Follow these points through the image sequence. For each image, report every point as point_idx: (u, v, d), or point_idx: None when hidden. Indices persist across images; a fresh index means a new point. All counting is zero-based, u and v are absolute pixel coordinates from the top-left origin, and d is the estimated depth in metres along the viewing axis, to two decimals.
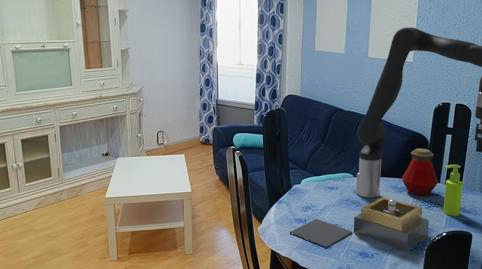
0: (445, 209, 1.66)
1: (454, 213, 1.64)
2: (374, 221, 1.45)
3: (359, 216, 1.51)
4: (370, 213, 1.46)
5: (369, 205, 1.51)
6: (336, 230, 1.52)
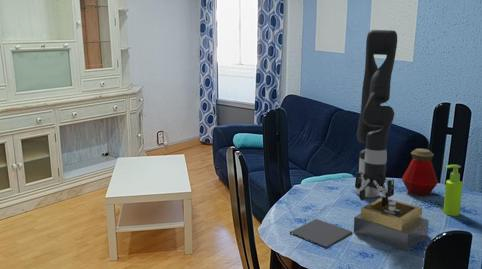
0: (445, 209, 1.66)
1: (454, 213, 1.64)
2: (374, 221, 1.45)
3: (359, 216, 1.51)
4: (370, 213, 1.46)
5: (369, 205, 1.51)
6: (336, 230, 1.52)
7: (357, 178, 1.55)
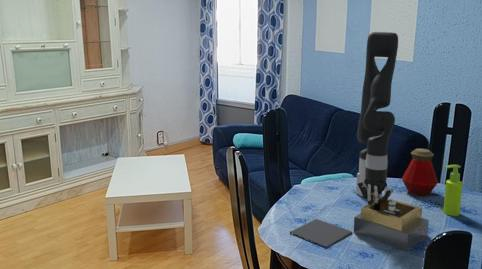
0: (445, 209, 1.66)
1: (454, 213, 1.64)
2: (374, 221, 1.45)
3: (359, 216, 1.51)
4: (370, 213, 1.46)
5: (369, 205, 1.51)
6: (336, 230, 1.52)
7: (361, 188, 1.55)
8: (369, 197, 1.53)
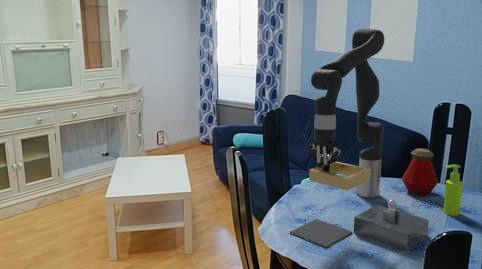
0: (445, 209, 1.66)
1: (454, 213, 1.64)
2: (321, 182, 1.43)
3: (359, 216, 1.51)
4: (318, 174, 1.43)
5: (318, 167, 1.48)
6: (336, 230, 1.52)
7: (310, 150, 1.52)
8: (318, 159, 1.50)
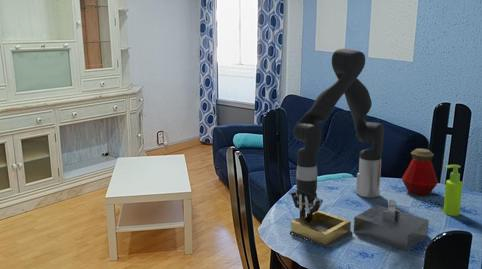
0: (445, 209, 1.66)
1: (454, 213, 1.64)
2: (302, 234, 1.48)
3: (359, 216, 1.51)
4: (299, 226, 1.49)
5: (300, 218, 1.54)
6: None
7: (293, 197, 1.57)
8: (300, 207, 1.55)
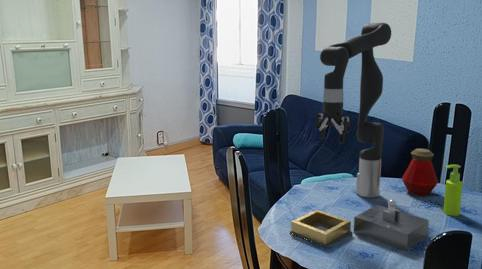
0: (445, 209, 1.66)
1: (454, 213, 1.64)
2: (302, 234, 1.48)
3: (359, 216, 1.51)
4: (299, 226, 1.49)
5: (300, 218, 1.54)
6: None
7: (317, 118, 1.64)
8: (321, 127, 1.63)
